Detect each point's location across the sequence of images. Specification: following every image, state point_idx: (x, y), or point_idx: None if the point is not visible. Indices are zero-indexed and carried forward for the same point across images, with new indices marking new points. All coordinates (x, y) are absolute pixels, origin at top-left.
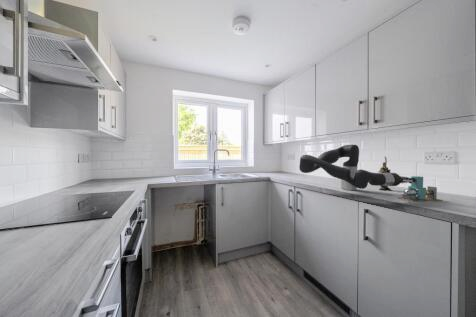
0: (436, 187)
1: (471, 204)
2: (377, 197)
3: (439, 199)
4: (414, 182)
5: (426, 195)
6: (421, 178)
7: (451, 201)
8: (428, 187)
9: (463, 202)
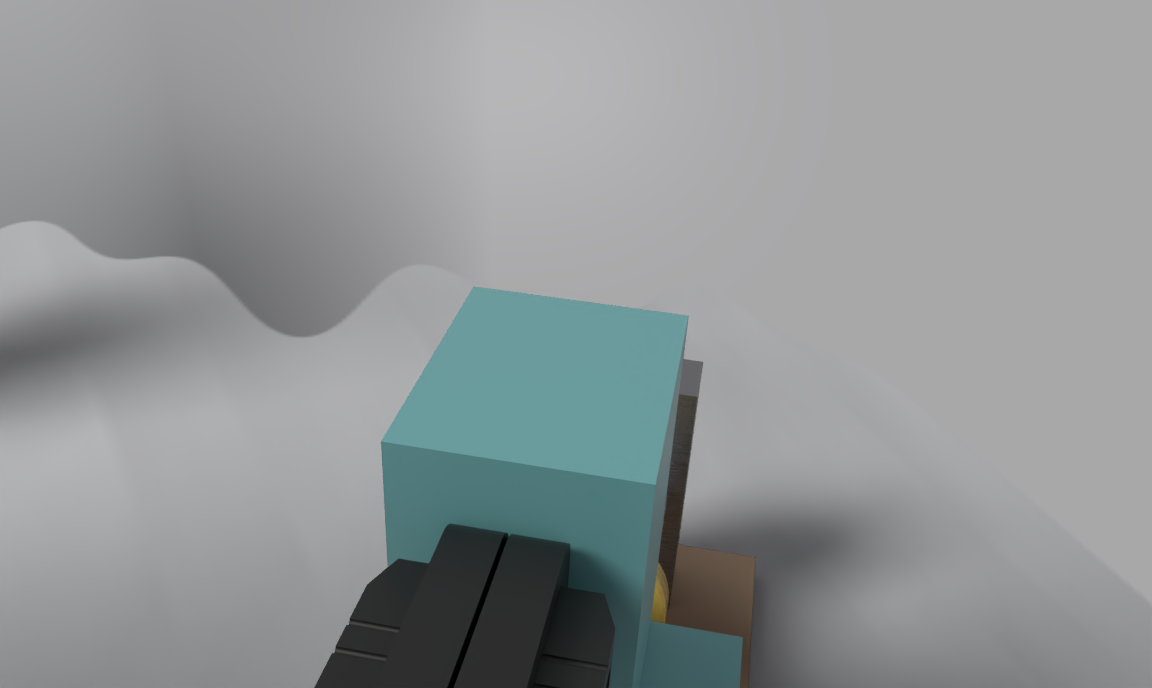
0: (701, 368)
1: (993, 468)
2: None
3: (713, 558)
4: None
5: None
6: (673, 415)
7: (792, 486)
8: None
9: (865, 426)
